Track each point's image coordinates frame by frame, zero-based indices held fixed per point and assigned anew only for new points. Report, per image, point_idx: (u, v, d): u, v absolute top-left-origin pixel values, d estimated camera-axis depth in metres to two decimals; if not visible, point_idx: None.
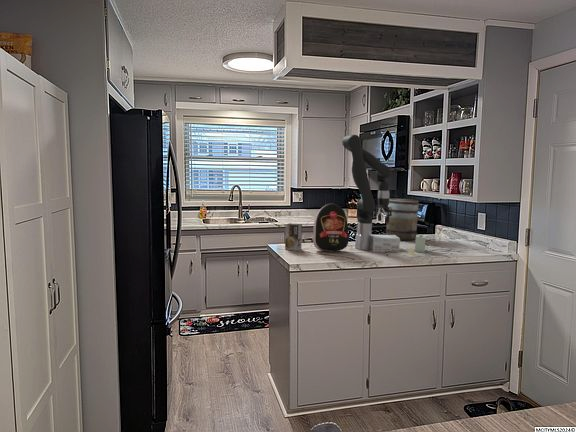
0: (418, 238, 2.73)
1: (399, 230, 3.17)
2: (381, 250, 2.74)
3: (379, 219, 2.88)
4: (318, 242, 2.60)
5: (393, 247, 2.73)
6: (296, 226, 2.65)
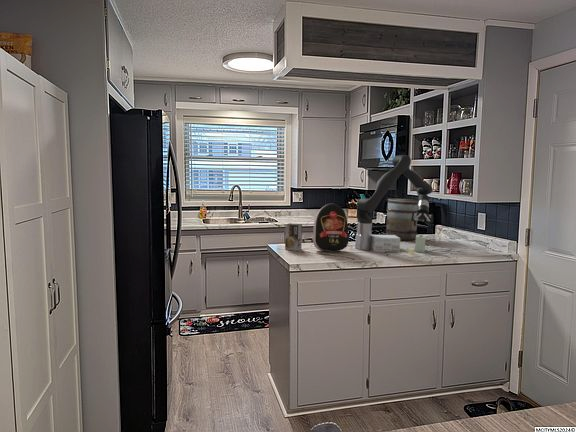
0: (418, 238, 2.73)
1: (399, 230, 3.17)
2: (382, 250, 2.74)
3: (415, 224, 2.88)
4: (318, 242, 2.60)
5: (394, 247, 2.74)
6: (296, 226, 2.65)
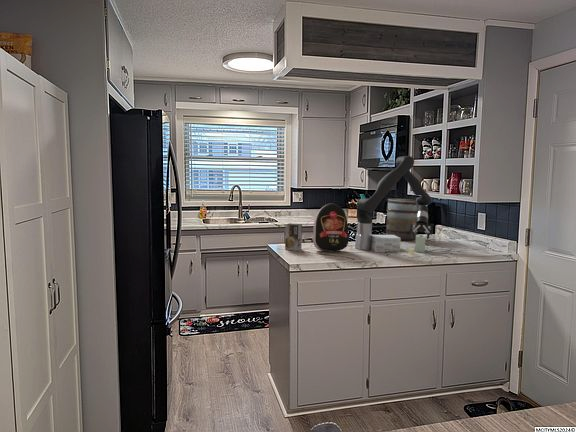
0: (418, 238, 2.73)
1: (399, 230, 3.17)
2: (383, 251, 2.73)
3: None
4: (318, 242, 2.60)
5: (394, 247, 2.74)
6: (296, 226, 2.65)
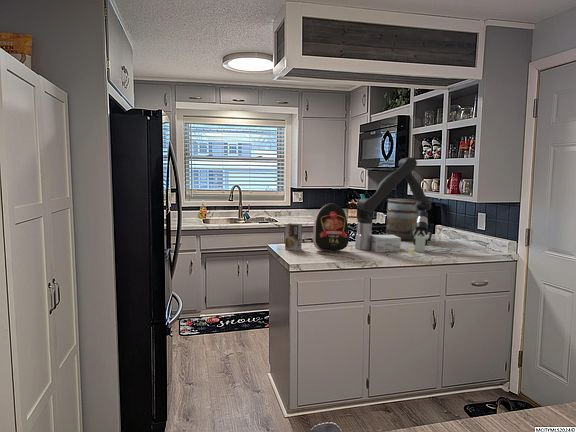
0: (418, 238, 2.73)
1: (399, 230, 3.17)
2: (383, 251, 2.73)
3: None
4: (318, 242, 2.60)
5: (395, 247, 2.74)
6: (296, 226, 2.65)
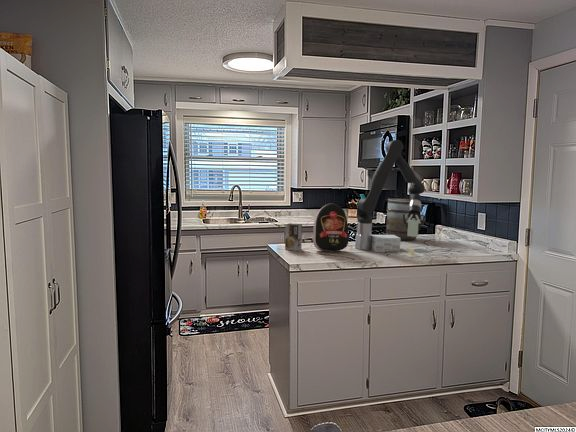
0: (411, 222, 2.59)
1: (399, 230, 3.17)
2: (382, 251, 2.73)
3: None
4: (318, 242, 2.60)
5: (394, 247, 2.74)
6: (296, 226, 2.65)
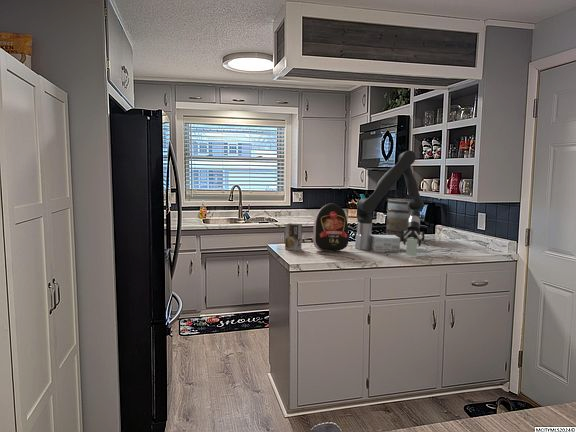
0: (409, 241, 2.60)
1: (399, 230, 3.17)
2: (382, 250, 2.74)
3: (405, 242, 2.65)
4: (318, 242, 2.60)
5: (394, 247, 2.74)
6: (296, 226, 2.65)
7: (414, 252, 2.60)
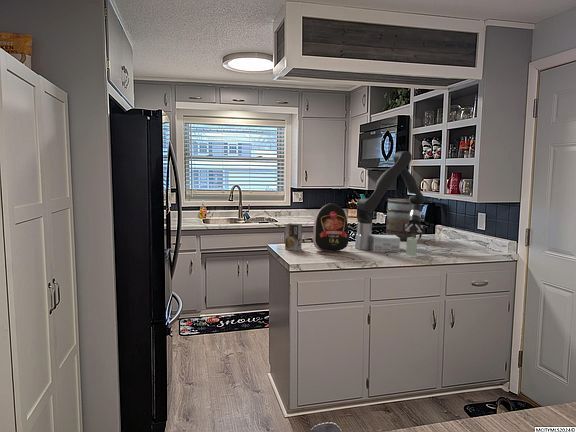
0: (409, 241, 2.60)
1: (399, 230, 3.17)
2: (381, 250, 2.74)
3: (406, 235, 2.77)
4: (318, 242, 2.60)
5: (393, 247, 2.73)
6: (296, 226, 2.65)
7: (414, 252, 2.60)
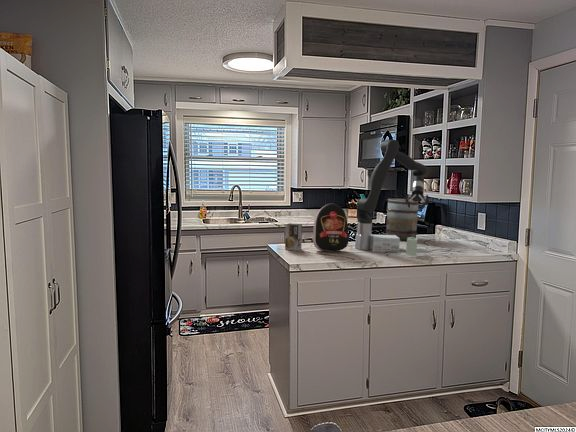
0: (409, 241, 2.60)
1: (399, 230, 3.17)
2: (381, 250, 2.74)
3: None
4: (318, 242, 2.60)
5: (393, 247, 2.73)
6: (296, 226, 2.65)
7: (414, 252, 2.60)
